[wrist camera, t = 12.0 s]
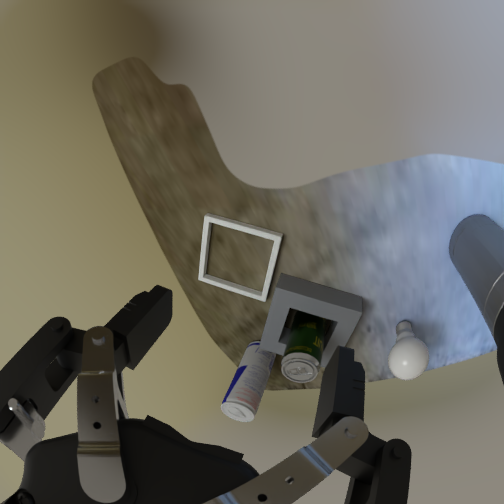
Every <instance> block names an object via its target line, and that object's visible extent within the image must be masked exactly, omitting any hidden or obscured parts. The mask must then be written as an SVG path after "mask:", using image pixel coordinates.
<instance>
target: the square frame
mask: <svg viewBox="0 0 504 504" xmlns="http://www.w3.org/2000/svg"><path fill="white" fill-rule="evenodd" d="M212 223H215V224H218V225H222V226H226V227H229V228H233V229H236V230H240V231H243V232H247V233H250V234H254V235H257V236H260V237H264V238H267V239H271V240H274V246H273V250H272V254H271V258H270V263H269V267H268V271H267V275H266V279H265V283H264V287H263V292H261V291H257V290H254V289H251V288H248V287H245V286H242V285H239V284H236V283H232V282H229V281H226V280H223V279H220V278H217V277H214V276H211V275H208V274H206V270H207V261H208V251H209V242H210V234H211V225H212ZM282 236H283V234H282V233H278V232H275V231H271V230H268V229H264V228H261V227H257V226H254V225H250V224H247V223H243V222H239V221H236V220H232V219H229V218H225V217H221V216H218V215H214V214H210V213H207V214H206V215H205V217H204V226H203V236H202V246H201V256H200V267H199V279H198V280H200V281H203V282H206V283H209V284H212V285H215V286H218V287H221V288H224V289H227V290H230V291H233V292H236V293H239V294H242V295H245V296H248V297H251V298H254V299H258V300H261V301H264V302H265V301H266V299H267V296H268V292H269V288H270V284H271V280H272V276H273V272H274V268H275V264H276V260H277V256H278V252H279V248H280V244H281V240H282Z"/></svg>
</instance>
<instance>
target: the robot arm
mask: <svg viewBox="0 0 504 504" xmlns="http://www.w3.org/2000/svg"><path fill="white" fill-rule="evenodd" d="M449 254H450V258H451V260H452V262H453V264H454V266H455V267H456V269H457V271H458V272H459V274H460V276H461V277H462V279H463V281H464V283H465V284H466V286H467V288H468V289H469V291H470V293H471V295H472V297H473V298H474V300H475V302H476V304H477V306H478V308H479V310H480V312H481V313H482V315H483V317H484V319H485V321H486V323H487V325H488V327H489V329H490V331H491V334H492V336H493V338H494V340H495V343H496V345H497V362H498V367H499V371H500V374H501V377H502V381H503V384H504V230H503V229H502V228H501V227H499V226H498V225H497V224H496V223H495V222H494V221H492V220H491V219H490V218H489V217H487V216H485V215H480V214H478V215H472V216H469V217H467V218H466V219H464V220H463V221H462V222H461V223H459V225H458V226H457V227H456V228H455V230H454V232H453V234H452V237H451V240H450V245H449ZM171 318H172V290H169V289H167V288H165V287H162V286H159V285H156V286H155V287H154V288H153V289H152V290H151V291H150V292H146V291H144V292H142V293H140V294H137V295H135V296H134V297H133V298H132V299H131V300H130V301H129V303H127V304H126V305H125V306H124V308H122V309H121V310H120V311H119V312H118V313H117V314H116V315H115V316H114V317H113V318H112V319H111V320H110V321H109V322H108V323H107V324H106V325H105V326H104V327H103V326H96V327H92V328H90V329H89V330H87V331H84V330H80V329H76V328H72V327H71V324H70V322H69V320H68V319H66V318H64V317H54V318H52V319H50V320H49V321H48V322H47V323H46V324H45V325H44V326H43V327H42V328H41V329H40V330H39V331H38V332H37V333H36V334H35V335H34V336H33V337H32V338H31V339H30V340H29V341H28V342H27V343H26V344H25V345H24V346H23V347H22V348H21V349H20V350H19V351H18V352H17V353H16V354H15V355H14V357H13V358H12V359H11V360H10V361H9V362H8V363H7V364H6V365H5V366H4V367H3V369H2V370H1V371H0V442H1V443H3V444H4V445H5V446H7V447H8V448H9V449H10V450H12V451H13V452H14V453H15V454H16V455H18V456H19V457H20V458H21V459H22V460H23V461H24V462H25V463H24V474H23V478H22V482H21V485H20V487H19V489H18V490H17V491H16V492H15V494H13V495H12V496H10V497H9V498H8V499H6V500H5V501H3V502H2V503H1V504H292V503H293V502H295V501H296V500H298V499H299V498H300V497H302V496H303V495H304V494H306V493H307V492H309V491H310V490H311V489H312V488H314V487H315V486H316V485H318V484H319V483H320V482H321V481H323V480H324V479H325V478H326V477H327V476H329V474H331V472H332V471H333V470H335V469H337V470H339V471H341V472H343V473H345V474H347V475H349V476H351V478H350V482H349V487H348V491H347V495H346V499H345V503H344V504H407V499H408V490H409V481H410V470H411V449H410V447H409V445H408V444H407V443H406V442H405V441H403V440H401V439H392V440H389V441H388V442H386V441H384V440H382V439H379V438H377V437H376V436H374V435H372V434H371V433H370V432H369V431H368V428H367V425H366V424H365V423H364V418H363V417H364V395H365V391H364V390H365V384H364V383H365V371H364V369H363V366H362V364H361V363H360V362H356V361H354V349H351V348H347V347H343V346H340V345H338V346H337V348H336V350H335V351H334V353H333V355H332V357H331V359H330V360H329V362H328V364H327V366H326V368H325V371H324V374H323V377H322V383H321V390H320V395H319V402H318V407H317V413H316V418H315V423H314V428H313V433H312V437H315V438H317V439H316V440H315V441H313V442H312V443H311V444H309V445H308V446H306V447H303V448H301V449H299V450H298V451H297V452H295V453H294V454H292V455H291V456H289V457H288V458H286V459H285V460H284V461H282V462H280V463H279V464H277V465H276V466H274V467H272V468H271V469H269V470H267V471H266V472H264V473H263V474H261V475H259V473H258V472H257V471H256V470H255V469H254V468H253V467H252V466H251V465H249V464H248V463H247V462H245V461H244V460H242V458H243V455H244V454H242V453H239V452H235V451H233V450H230V449H227V448H224V447H221V446H217V445H210V444H203V443H197V442H192V441H190V440H188V439H187V438H185V437H184V436H183V435H181V434H180V433H179V432H178V431H176V430H175V429H174V428H172V427H171V426H170V425H168V424H165V423H163V422H161V421H159V420H157V419H155V418H153V417H151V416H149V415H147V417H146V419H145V420H143V419H134V418H132V419H131V418H129V417H128V413H127V409H126V403H125V395H124V385H123V375H122V371H123V369H124V368H125V367H128V368H130V369H132V370H134V368H135V367H136V366H137V365H138V363H139V362H140V361H141V359H142V358H143V357H144V356H145V354H146V353H147V352H148V350H149V349H150V348H151V346H152V345H153V344H154V342H156V340H157V339H158V337H159V336H160V335H161V334H162V333H163V331H164V330H165V329H166V327H167V326H168V325H169V323H170V321H171ZM51 362H52V363H51ZM50 363H51V364H50ZM77 376H78V377H77ZM76 377H77V419H78V432H76V433H72V434H68V435H64V436H61V437H56V438H52V439H47V440H44V441H42V438H43V437H44V431H45V422H44V420H45V418H46V417H47V416H48V414H49V413H50V411H51V410H52V409H53V407H54V406H55V405H56V403H57V402H58V401H59V399H60V398H61V397H62V395H63V394H64V393H65V391H66V390H67V389H68V387H69V386H70V385H71V383H72V382H73V381H74V380H75V378H76Z"/></svg>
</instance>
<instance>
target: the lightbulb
mask: <svg viewBox="0 0 504 504" xmlns="http://www.w3.org/2000/svg"><path fill="white" fill-rule="evenodd" d="M396 334H397V339H396V343H395V345H394V346H393V347H392V349H391V351H390V353H389V357H388V365H389V369H390V371H391V372H392V374H393V375H394V376H395V377H397V378H399V379H402V380H412V379H415V378H417V377H418V376H420V375H421V374H422V373H423V372H424V371H425V369H426V368H427V365H428V362H429V351H428V348H427V346H426V345H425V343H424V342H423V341H421V340H420V339H418V338H416V337H415V335H414V334H413V332H412V328H411V324H410V323H409V322H407V321H403V322H400V323H399V324H398V325H397V326H396Z"/></svg>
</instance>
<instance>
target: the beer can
mask: <svg viewBox="0 0 504 504" xmlns="http://www.w3.org/2000/svg"><path fill="white" fill-rule="evenodd" d="M326 325H327V319H326V318H323V317H319V316H316V315H313V314H309V313H306V312H303V311H299V310H298V311H297V312H296V314H295V316H294V320H293V323H292V327H291V331H290V334H289V338H288V341H287V345H286V348H285V351H284V355H283V358H282V362H281V365H282V368H281V371H282V374H283V375H284V376H285V377H286V378H287V379H289V380H291V381H294V382H298V383H306V382H310V381H312V380H314V379H315V378H316V377H317V374H318V372H319V370H320V367H321V360H322V354H323V347H324V340H325V332H326Z"/></svg>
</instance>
